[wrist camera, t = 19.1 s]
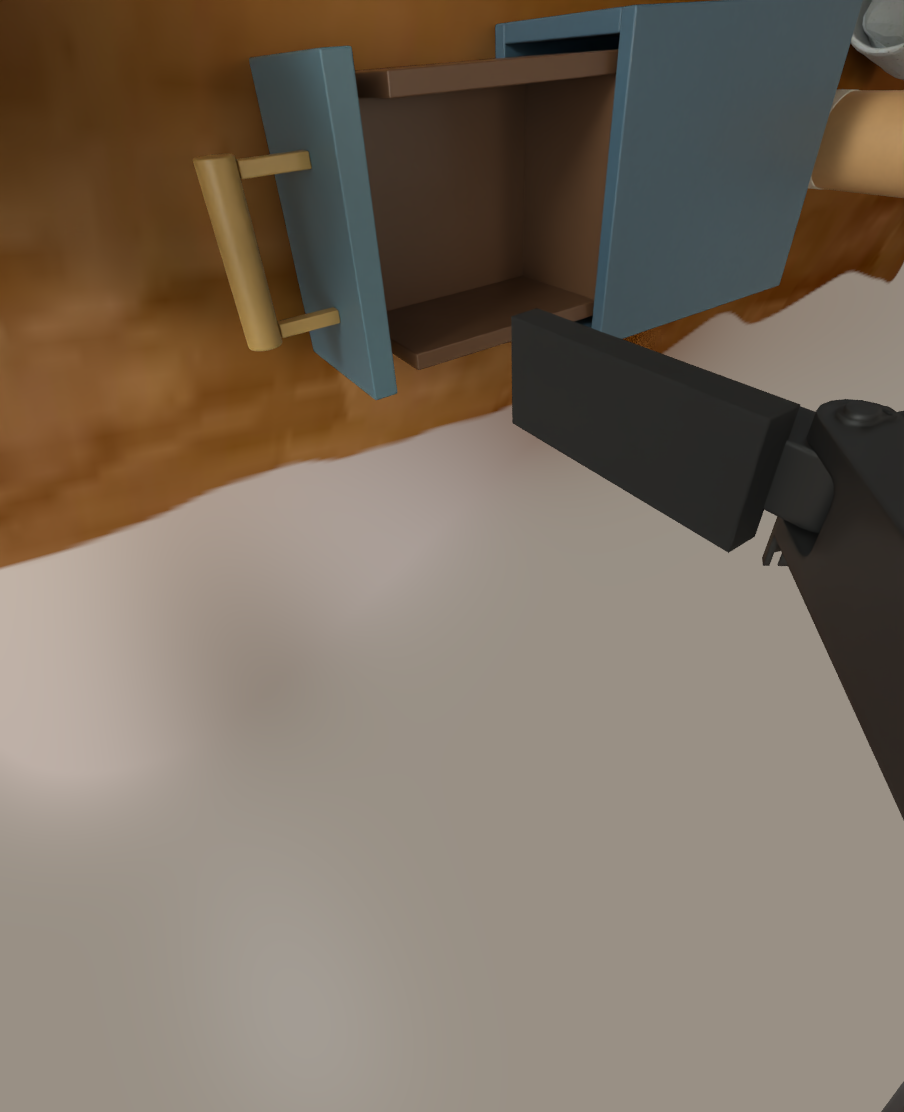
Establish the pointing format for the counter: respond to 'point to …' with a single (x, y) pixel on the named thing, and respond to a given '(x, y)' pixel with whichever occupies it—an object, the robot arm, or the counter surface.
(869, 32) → the ceramic mug
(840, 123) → the paper roll
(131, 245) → the counter surface
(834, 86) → the cabinet
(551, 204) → the drawer
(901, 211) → the counter surface
